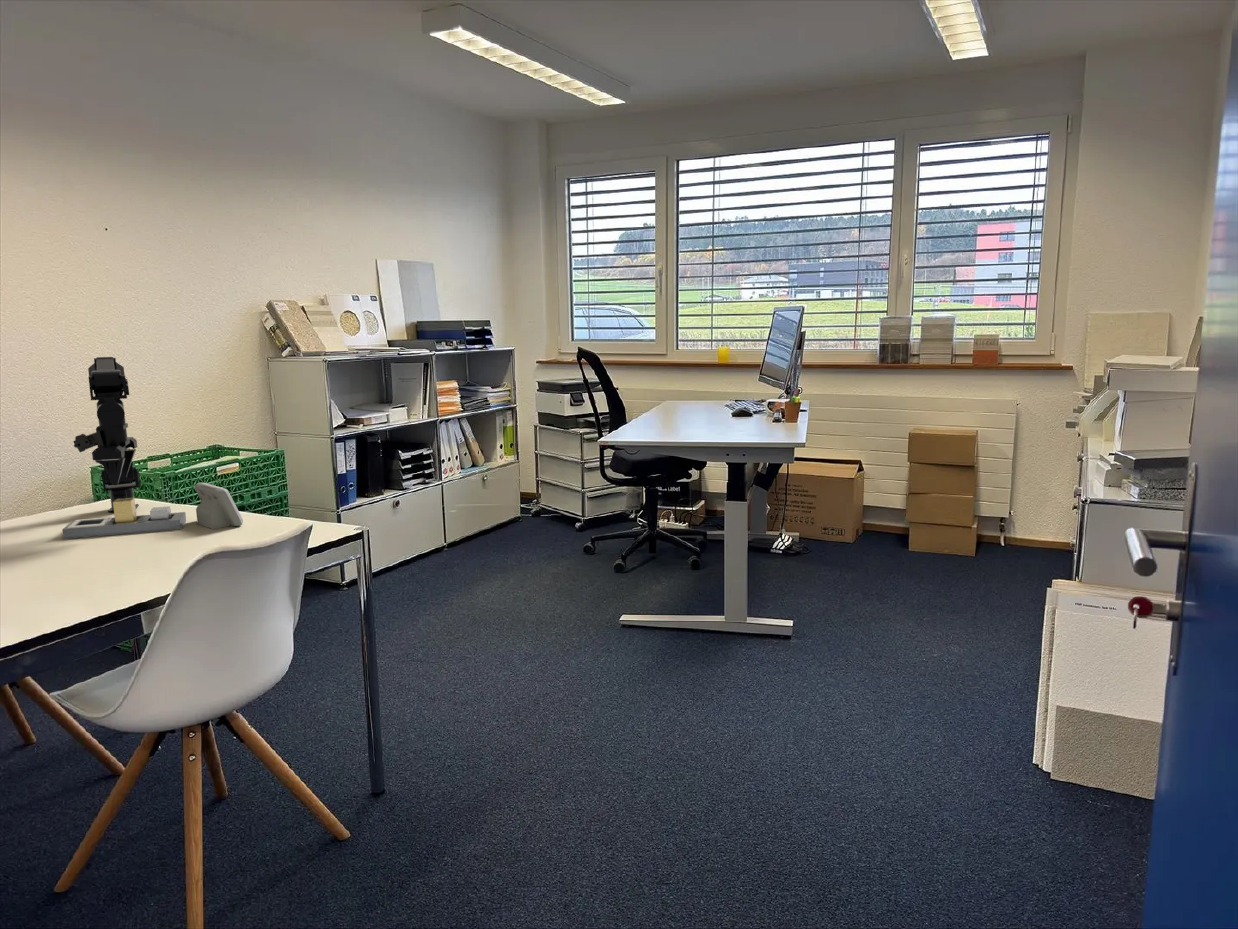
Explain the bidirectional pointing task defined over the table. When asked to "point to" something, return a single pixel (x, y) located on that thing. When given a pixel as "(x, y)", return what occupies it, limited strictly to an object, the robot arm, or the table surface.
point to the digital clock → (216, 507)
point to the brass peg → (125, 510)
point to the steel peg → (160, 513)
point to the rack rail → (121, 526)
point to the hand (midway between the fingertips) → (119, 481)
